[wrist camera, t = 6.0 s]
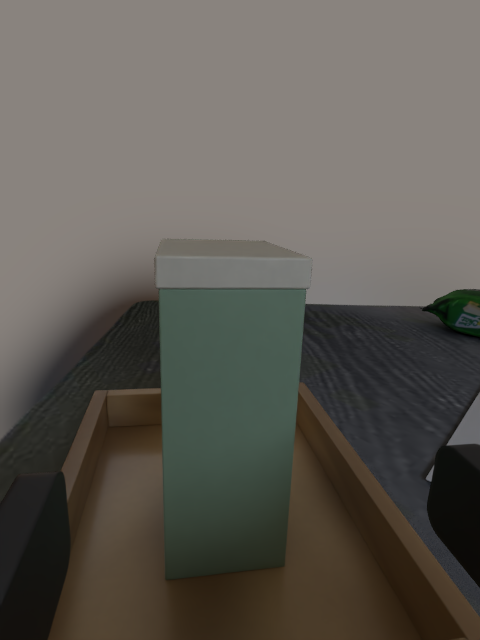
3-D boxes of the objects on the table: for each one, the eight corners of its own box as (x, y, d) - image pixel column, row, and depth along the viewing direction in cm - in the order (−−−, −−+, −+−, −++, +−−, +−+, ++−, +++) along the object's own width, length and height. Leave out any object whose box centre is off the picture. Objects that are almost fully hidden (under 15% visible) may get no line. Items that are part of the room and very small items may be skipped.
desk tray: (301, 415, 28) (303, 382, 27) (495, 729, 11) (514, 662, 10) (97, 425, 26) (94, 390, 25) (-47, 839, 9) (-66, 763, 8)
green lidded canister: (254, 463, 22) (265, 240, 19) (288, 569, 15) (313, 257, 12) (165, 469, 21) (160, 238, 18) (161, 583, 15) (154, 255, 11)
